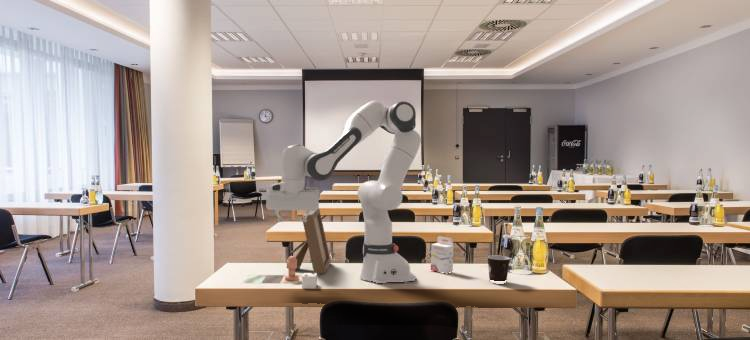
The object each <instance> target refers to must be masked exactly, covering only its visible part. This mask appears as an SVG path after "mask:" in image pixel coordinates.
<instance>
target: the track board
mask: <svg viewBox="0 0 750 340" xmlns="http://www.w3.org/2000/svg"><path fill="white" fill-rule="evenodd" d="M286 275H287V274H285V275H284V274H282V275H281V274H248V275H247V276H246V277H245V279H244V280H243V281H242V284H300V283H301V281H302V276H303V274H301V275H300V274H299V275H298V274H297V275H298V276H299V279H298V280H296V281H287V280H285V276H286Z"/></svg>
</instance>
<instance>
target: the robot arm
mask: <svg viewBox="0 0 750 340" xmlns="http://www.w3.org/2000/svg"><path fill="white" fill-rule="evenodd" d="M416 115H417V114H416V109H415V107H414V105H413V104H411V103H410V102H409V101H404V100H402V101H397V102H395V103H394V104H393V105H391V106H390V107H386V106H385V105H384V104H383V103H382V102H381V101H378V100H375V99H374V100H373V99H372V100H370V101H368V102H367V103H365V104H364V105H362V106H361V107H359V108H358V109H357V110H356V111H354V112H353V113H352V114H351V115H350V116H349V117H348V118H347V119H346V120H345V122H344V123H343V124H342V125H343V126H342V134H341V136H340V137H339V138H338V139H337V140H336V141H335V142H334V143H333V144H332V145H330V146H329V148H327V150H324V151H323V152H320V153H317V152H315V151H313V150H311V149H308V148H307V147H306V146H304V144H301V143H300V144H293V145H287V146H285V148H284V149H283V151H282V154H281V155H282V156H281V158H282V159H281V170H282V174H281V175H282V176H281V181H280V182H276V183H273V184H271V185H270V186H269V192H268V193H267V194H266V195H267V196H266V200H265V201H266V202H265V203H266V204H265V208H266V209H267V210H268V211H274V212H275V215H276V216H277V222H278V223H280V222H281V223H282V222H283V216H281V215H280V212H281V211H305V214H306V213H307V215H306V216H305V217H303V221H302V223H303V222H307V216H308V215H309V213H310V211H316V210H318V208H319V209H320V205H319V203H320V202H319V198H320V195H321V193H320V189H319V188H318V187H317V186H305V182H306V181H305V178H306V177H310V178H312V179H314V180H315V181H319V182H320V181H326V180H328V179H330V178H331V177H332V176H333V174H334V172H335V170H336V167H337V165H338V164H339V163H340V162H341V160H342V159H343V158H345V156H346V155H347V154H349V153H350V151H352V150H353V148H354V147H356V146H357V145H358V144H360V143H361V142H363V141H365V140H366V139H367V138H368V137H370V136H371V135H372V134H374V132H375V131H376V130H377V129H378V128H381V129H382V130H384V131H386V132H387V133H389V134H392V135H394V136H393V137H394V138H393V141H392V143H391V144H390V146H389V148H388V149H387V152H386V153H385V156H384V157H383V159H382V161H381V163H380V168H381V169H380V174H379V177H378V179H377V180H367V181H364V182H363V183H361V184H360V185H359V187H358V189H357V197H358V200H359V202H360V204H361V209H362V210H361V211H362V214H363V220H364V241H363V244H362V256H363V261H362V268H361V272H360V275H359V278H360V279H361V280H363V281H366V280H367V281H366V282H371V281H373V282H372V283H374V282H376V283H375V284H377V283H383V284H387V283H386V282H401V281H414V280H415V279H416V280H417V278H416V274H415V273H413V272H412V271H411V266H410V264H409V261H407V260H406V259H405V258H404V257H403V256H402V255H400V254H399V253H398V251H399V248H400V247H399V246H398V245H397V244H395V243H393V223H392V220H391V219H390V216H389V212H388V211H392V210H396V209H398V207H400V205H401V204H402V202H403V192H402V190H403V185H404V181H405V179H406V175H407V173H408V171H409V169H410V167H411V165H413V162H414V160H415V158H416V155H417V154H418V151H419V150H420V145H421V143H422V142H421V141H422V138H421V135H420V133H418V132H417V131H416V130H415V128H416V125H417V124H416V118H417V117H416ZM416 280H415V281H416ZM415 281H414V282H415Z"/></svg>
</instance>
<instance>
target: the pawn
mask: <svg viewBox="0 0 750 340" xmlns="http://www.w3.org/2000/svg"><path fill="white" fill-rule="evenodd" d="M295 257H296V256H294V255H291V256H288V257H287V258H288V259H286V269H288V272H287V273H288V274H285V275H286V276H285V275H284V276H285V280H287V281H296V280H298V279H299V276H298V274H296V270H295V269H296V268H297V260H296V258H295Z"/></svg>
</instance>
